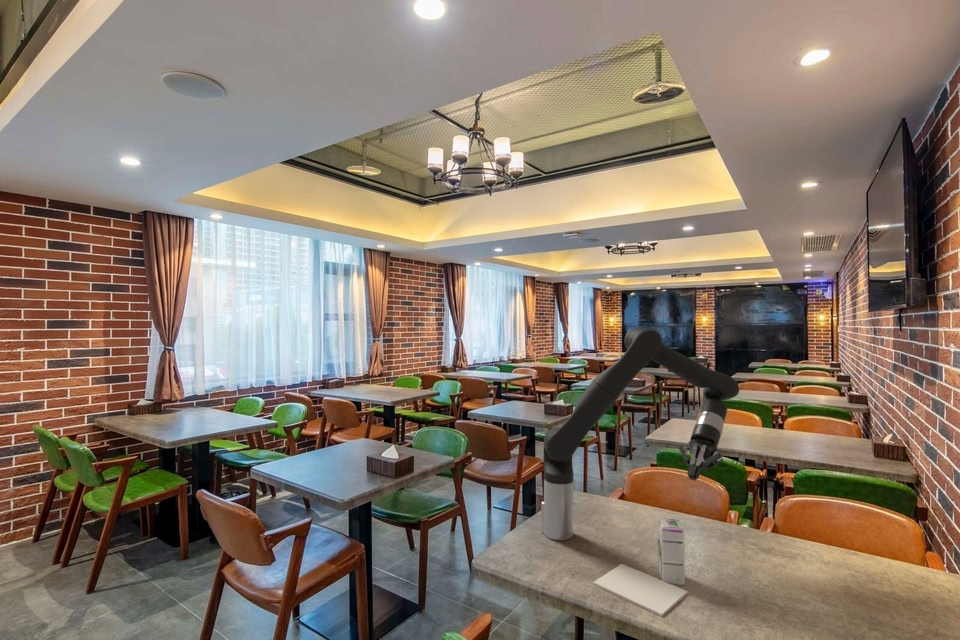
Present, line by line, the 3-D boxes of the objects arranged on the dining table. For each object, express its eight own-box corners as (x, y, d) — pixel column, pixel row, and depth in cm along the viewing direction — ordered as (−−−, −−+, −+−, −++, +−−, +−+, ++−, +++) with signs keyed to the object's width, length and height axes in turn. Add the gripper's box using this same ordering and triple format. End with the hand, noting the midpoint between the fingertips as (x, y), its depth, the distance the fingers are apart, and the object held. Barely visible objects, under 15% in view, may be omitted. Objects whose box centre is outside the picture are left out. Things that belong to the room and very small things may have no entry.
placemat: (593, 584, 118) (593, 582, 118) (621, 566, 127) (621, 563, 127) (661, 616, 104) (661, 614, 104) (687, 593, 114) (687, 591, 114)
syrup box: (685, 585, 118) (685, 528, 118) (661, 582, 119) (661, 525, 119) (680, 574, 123) (680, 519, 124) (657, 571, 124) (657, 517, 125)
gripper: (682, 419, 145) (665, 466, 136) (727, 425, 136) (712, 476, 127) (689, 434, 149) (673, 480, 140) (734, 441, 139) (719, 491, 130)
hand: (691, 478), depth 133 cm, fingers closed
